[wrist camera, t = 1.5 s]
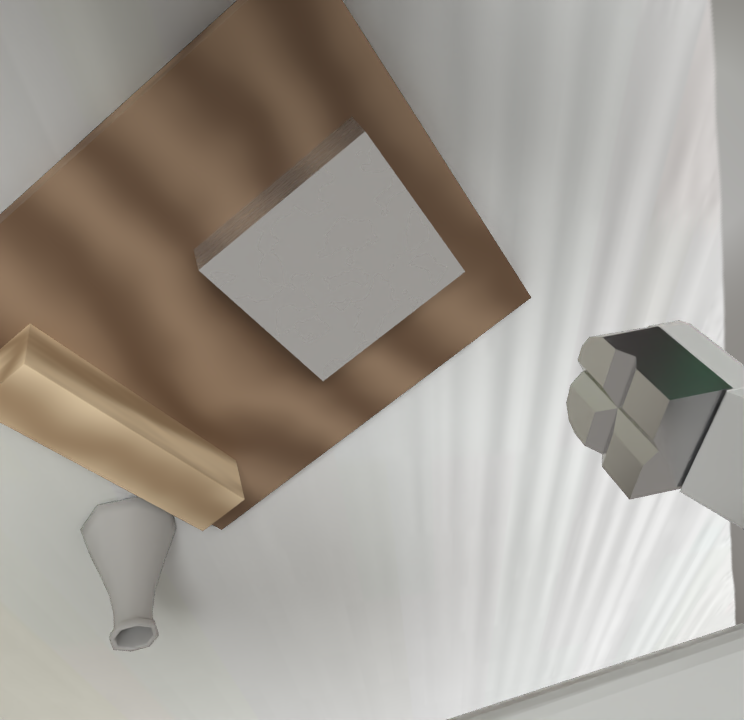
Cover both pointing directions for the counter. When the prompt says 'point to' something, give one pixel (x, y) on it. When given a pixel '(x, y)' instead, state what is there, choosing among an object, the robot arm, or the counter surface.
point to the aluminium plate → (330, 253)
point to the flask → (130, 564)
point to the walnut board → (211, 211)
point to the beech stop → (112, 430)
